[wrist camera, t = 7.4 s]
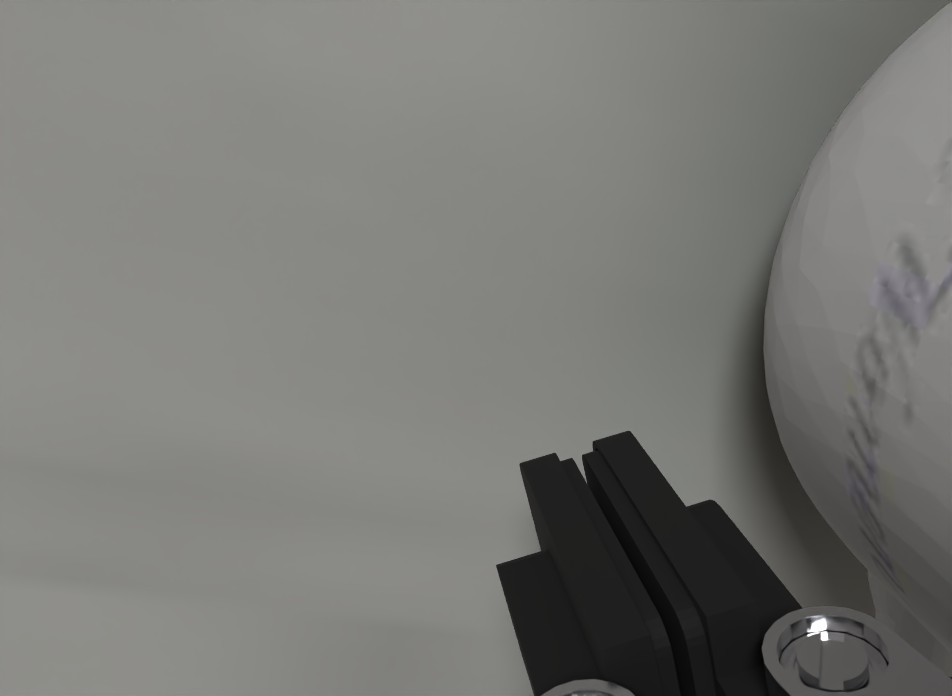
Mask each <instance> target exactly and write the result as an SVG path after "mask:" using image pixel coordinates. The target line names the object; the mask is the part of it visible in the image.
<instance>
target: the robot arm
mask: <svg viewBox="0 0 952 696" xmlns="http://www.w3.org/2000/svg"><path fill="white" fill-rule="evenodd" d="M582 461H583V466H584V470H585V475H586V479H587V483H586V481H585V479H584V478H583V476H582V474H581V472H580V470H579V469H578V467H577V465H576V463H575V461H574V460H573V458H570V459H567V460H563V461H560V460H559V458H558V456H557V455H556V453H552V454H549V455H546V456H542V457H539V458H536V459H532V460H529V461H526V462H522V463H520V470H521V474H522V478H523V482H524V486H525V490H526V493H527V497H528V501H529V505H530V509H531V513H532V517H533V520H534V524H535V528H536V532H537V536H538V540H539V544H540V547H541V551H540V552H537V553H534V554H531V555H527V556H524V557H521V558H518V559H514V560H511V561H508V562H504V563H501V564H498V565H496V567H497V570H498V574H499V577H500V581H501V584H502V588H503V591H504V595H505V598H506V602H507V605H508V609H509V612H510V616H511V619H512V622H513V626H514V629H515V633H516V636H517V640H518V643H519V646H520V650H521V653H522V657H523V660H524V663H525V667H526V670H527V673H528V677H529V680H530V683H531V687H532V690H533V693H534V696H952V677H949V676H947V675H946V674H945V673H944V672H942V671H941V670H940V669H939V668H937V667H936V666H935V665H934V664H933V663H931V662H930V661H929V660H928V659H927V658H925V657H924V656H923V655H922V654H920V653H919V652H918V651H917V650H916V649H914V648H913V647H912V646H911V645H909V644H908V643H907V642H906V641H905V640H903V639H902V638H901V637H900V636H898V635H897V634H896V633H895V632H894V631H892V630H891V629H890V628H889V627H887V626H886V625H885V624H883V623H881V622H880V621H878V620H877V619H875V618H873V617H872V616H870V615H868V614H865V613H862V612H859V611H856V610H853V609H850V608H845V607H837V606H829V605H826V606H813V607H806V608H802V607H801V606H800V605H799V603H798V602H797V601H796V600H795V598H794V597H793V596H792V595H791V594H790V592H789V591H788V590H787V589H786V587H785V586H784V585H783V584H782V582H781V581H780V580H779V579H778V577H777V576H776V575H775V574H774V572H773V571H772V570H771V569H770V567H769V566H768V565H767V564H766V563H765V561H764V560H763V559H762V558H761V556H760V555H759V554H758V553H757V551H756V550H755V549H754V548H753V546H752V545H751V544H750V543H749V541H748V540H747V539H746V538H745V537H744V535H743V534H742V533H741V532H740V530H739V529H738V528H737V527H736V525H735V524H734V523H733V522H732V520H731V519H730V518H729V517H728V515H727V514H726V513H725V512H724V510H723V509H722V508H721V507H720V506H719V505H718V504H717V503H716V502H715V501H713V500H707V501H704V502H700V503H697V504H694V505H691V506H687V507H686V506H685V505H684V503H683V502H682V501H681V499H680V498H679V497H678V495H677V494H676V492H675V491H674V490H673V488H672V487H671V486H670V484H669V483H668V482H667V480H666V479H665V477H664V476H663V475H662V473H661V472H660V471H659V469H658V468H657V467H656V465H655V464H654V463H653V461H652V460H651V458H650V457H649V456H648V454H647V453H646V452H645V450H644V449H643V448H642V446H641V445H640V443H639V442H638V441H637V439H636V438H635V437H634V435H633V434H632V433H631V432H630V431H626V432H622V433H619V434H616V435H612V436H609V437H606V438H602V439H599V440H596V441H593V452H590V453H587V454H583V455H582ZM587 484H588V485H587Z"/></svg>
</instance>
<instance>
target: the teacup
mask: <svg viewBox="0 0 952 696" xmlns="http://www.w3.org/2000/svg"><path fill="white" fill-rule="evenodd" d="M763 351H764V364H765V376H766V386H767V391H768V396H769V401H770V406H771V410H772V413H773V416H774V420H775V423H776V427H777V430H778V433H779V437H780V440H781V443H782V446H783V448H784V450H785V453H786V455H787V457H788V460H789V462H790V464H791V466H792V468H793V470H794V472H795V473H796V475H797V477H798V479H799V481H800V483H801V485H802V487H803V488H804V490H805V491H806V493H807V494H808V496H809V498H810V499H811V501H812V502H813V504H814V505H815V507H816V508H817V510H818V511H819V512H820V514H821V515H822V516H823V518H824V519H825V520H826V522H827V523H828V524H829V526H830V527H831V528H832V529H833V530H834V532H835V533H836V534H837V535H838V537H839V538H840V539H841V540H842V542H843V543H844V544H845V545H846V546H847V548H848V549H849V550H850V551H851V552H852V553H853V554H854V556H855V557H856V558H857V559H858V560H859V561H860V562H861V563H862V564H863V566H864V567H865V568H866V569H867V570H868V583H869V587H870V591H871V595H872V599H873V603H874V607H875V617H874V618H875V619H877V620H878V621H880V622H881V623H883V624H885V625H886V626H887V627H889V628H890V629H891V630H892V631H894V632H895V633H896V634H897V635H898V636H900V637H901V638H902V639H903V640H905V641H906V642H907V643H908V644H909V645H911V646H912V647H913V648H914V649H916V650H917V651H918V652H919V653H920V654H922V655H923V656H924V657H925V658H927V659H928V660H929V661H930V662H931V663H933V664H934V665H935V666H936V667H937V668H939V669H940V670H941V671H942V672H944V673H945V674H946V675H947V676H949V677H952V2H950V3H949V4H947V5H946V6H945V7H943V8H942V9H941V10H939V11H938V12H937V13H936V14H935V15H934V16H932V17H931V18H930V19H929V20H928V21H927V22H926V23H924V24H923V25H922V26H921V27H920V28H919V29H918V30H916V31H915V32H914V33H913V34H912V35H911V36H910V37H909V38H908V39H906V40H905V41H904V42H903V43H902V44H901V45H900V46H899V47H898V48H897V49H896V50H895V51H894V52H893V53H892V54H891V55H890V56H889V57H888V58H887V59H886V60H885V61H884V62H883V63H882V65H881V66H880V67H879V68H878V69H877V70H876V71H875V72H874V74H873V75H872V76H871V77H870V78H869V79H868V80H867V81H866V82H865V84H864V85H863V86H862V87H861V89H860V90H859V91H858V93H857V94H856V95H855V96H854V98H853V99H852V100H851V102H850V103H849V104H848V106H847V107H846V108H845V109H844V111H843V112H842V113H841V115H840V116H839V118H838V120H837V121H836V123H835V124H834V126H833V128H832V129H831V131H830V132H829V134H828V136H827V137H826V139H825V140H824V142H823V144H822V145H821V147H820V148H819V150H818V152H817V153H816V155H815V157H814V159H813V160H812V162H811V165H810V167H809V169H808V171H807V173H806V175H805V177H804V180H803V182H802V184H801V186H800V188H799V190H798V192H797V195H796V197H795V199H794V201H793V203H792V206H791V208H790V211H789V214H788V216H787V219H786V222H785V224H784V228H783V231H782V234H781V237H780V240H779V244H778V247H777V250H776V253H775V256H774V261H773V265H772V270H771V275H770V280H769V287H768V294H767V301H766V308H765V315H764V349H763Z"/></svg>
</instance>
